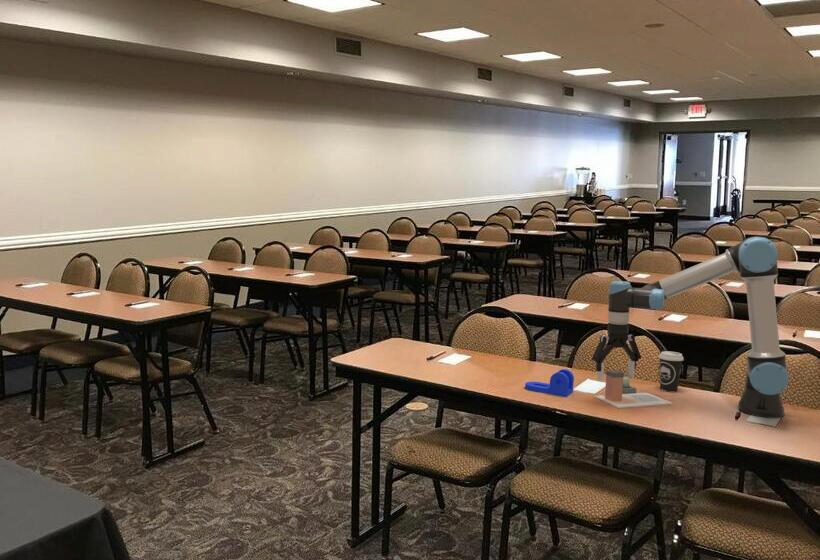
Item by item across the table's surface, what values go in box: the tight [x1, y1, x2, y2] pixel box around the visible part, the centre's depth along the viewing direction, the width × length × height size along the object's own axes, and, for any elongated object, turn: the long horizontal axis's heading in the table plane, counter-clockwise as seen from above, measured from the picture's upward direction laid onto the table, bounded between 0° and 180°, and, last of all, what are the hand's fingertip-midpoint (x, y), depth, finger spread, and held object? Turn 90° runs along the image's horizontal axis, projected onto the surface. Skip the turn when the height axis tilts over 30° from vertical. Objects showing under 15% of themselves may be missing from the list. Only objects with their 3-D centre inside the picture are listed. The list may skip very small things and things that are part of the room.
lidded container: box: [604, 369, 625, 401], centre depth 261 cm, size 5×5×11 cm
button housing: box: [622, 384, 637, 394], centre depth 275 cm, size 7×7×2 cm
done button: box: [623, 375, 631, 388], centre depth 274 cm, size 4×4×4 cm
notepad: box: [594, 392, 674, 410], centre depth 263 cm, size 15×24×1 cm, turn 109°
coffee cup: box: [658, 350, 685, 392], centre depth 281 cm, size 10×10×15 cm
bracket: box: [524, 368, 575, 398], centre depth 272 cm, size 18×8×9 cm, turn 60°
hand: (615, 378), depth 260 cm, fingers open, 13 cm apart
